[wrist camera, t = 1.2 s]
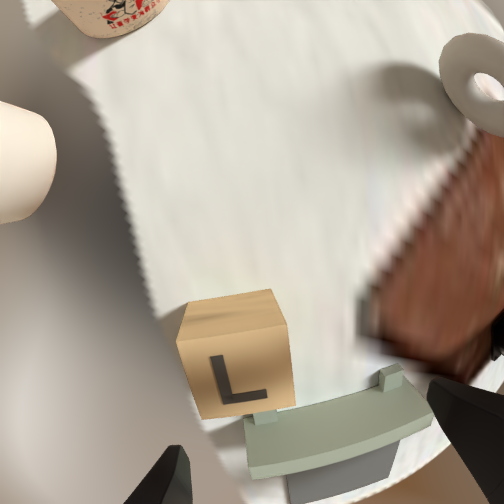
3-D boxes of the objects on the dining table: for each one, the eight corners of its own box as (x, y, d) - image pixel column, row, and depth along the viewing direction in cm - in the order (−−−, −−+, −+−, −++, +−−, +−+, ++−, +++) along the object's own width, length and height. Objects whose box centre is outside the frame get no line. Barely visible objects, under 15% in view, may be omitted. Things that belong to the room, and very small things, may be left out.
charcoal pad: (386, 475, 28) (388, 477, 28) (290, 503, 28) (291, 506, 27) (404, 413, 25) (406, 415, 25) (282, 450, 25) (283, 453, 24)
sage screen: (399, 404, 25) (425, 438, 19) (250, 444, 24) (255, 490, 18) (406, 360, 24) (440, 394, 18) (239, 402, 23) (243, 453, 17)
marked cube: (280, 358, 22) (296, 407, 16) (206, 370, 22) (202, 421, 16) (270, 288, 21) (287, 324, 15) (188, 301, 21) (175, 342, 15)
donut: (487, 128, 20) (561, 119, 10) (476, 149, 20) (557, 145, 10) (426, 48, 18) (496, 10, 8) (412, 65, 18) (488, 25, 8)
